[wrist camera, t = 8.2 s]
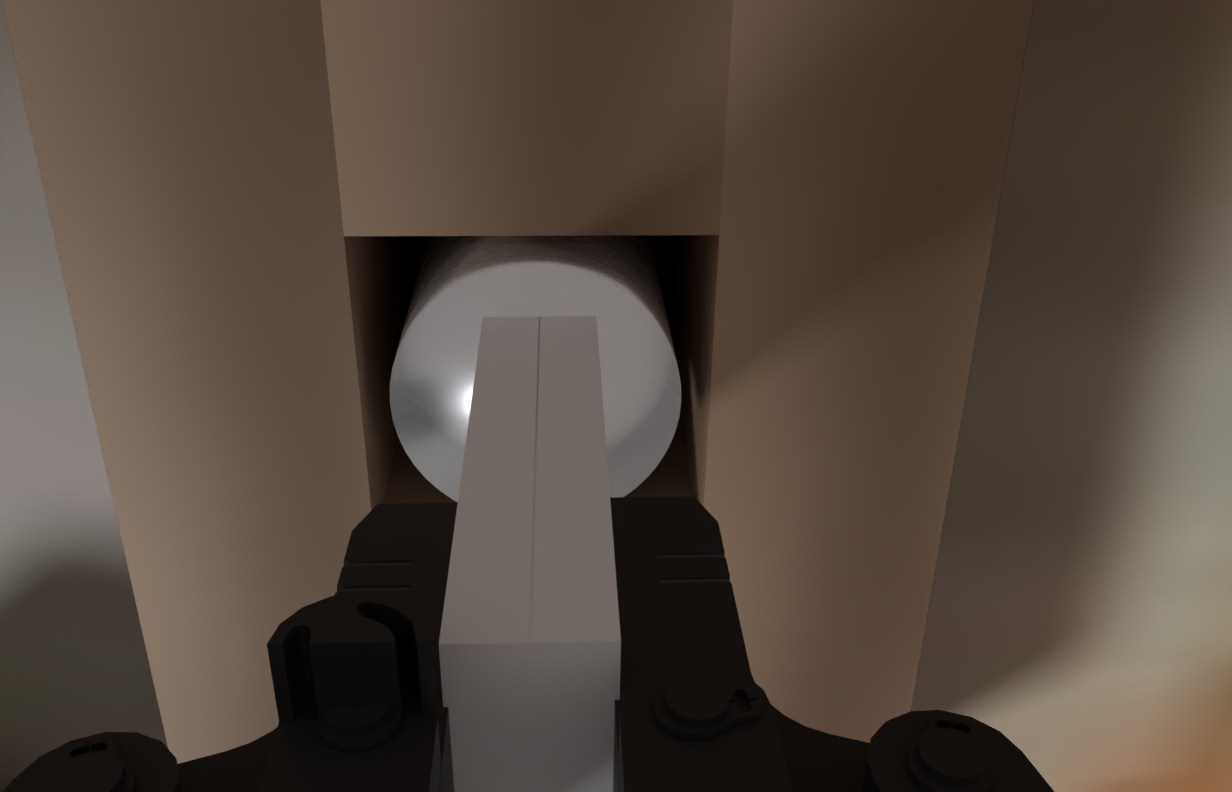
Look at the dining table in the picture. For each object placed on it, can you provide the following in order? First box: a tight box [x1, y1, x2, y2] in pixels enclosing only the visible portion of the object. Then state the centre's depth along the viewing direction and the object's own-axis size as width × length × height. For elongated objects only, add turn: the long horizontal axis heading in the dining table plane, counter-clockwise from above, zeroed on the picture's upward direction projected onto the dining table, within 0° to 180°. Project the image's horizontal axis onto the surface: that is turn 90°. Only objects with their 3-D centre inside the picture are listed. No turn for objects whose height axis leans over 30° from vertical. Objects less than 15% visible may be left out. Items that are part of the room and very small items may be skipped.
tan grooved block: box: [2, 0, 1034, 764], centre depth 23 cm, size 12×24×9 cm, turn 179°
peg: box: [390, 235, 681, 502], centre depth 20 cm, size 4×4×9 cm
